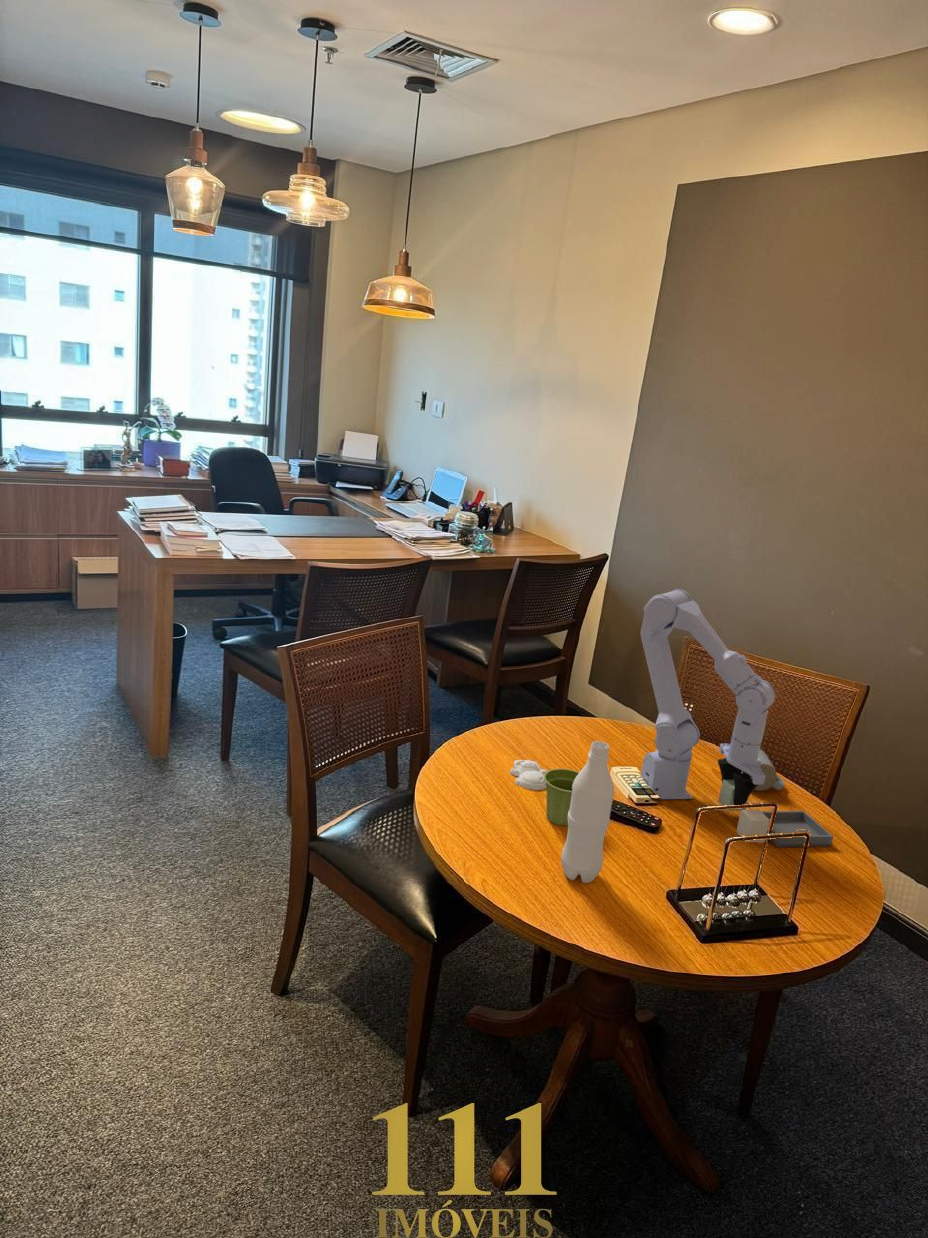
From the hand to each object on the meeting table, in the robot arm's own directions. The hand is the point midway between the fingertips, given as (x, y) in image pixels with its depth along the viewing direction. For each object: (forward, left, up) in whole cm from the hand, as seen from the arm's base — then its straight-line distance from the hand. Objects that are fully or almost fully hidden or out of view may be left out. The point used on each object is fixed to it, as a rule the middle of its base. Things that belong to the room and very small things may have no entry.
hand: (733, 799), depth 171 cm
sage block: (0, 0, -2) cm, 2 cm away
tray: (+10, -7, -4) cm, 13 cm away
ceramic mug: (+15, +14, -4) cm, 21 cm away
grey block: (0, -8, -4) cm, 9 cm away
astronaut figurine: (-38, +18, -5) cm, 42 cm away
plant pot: (-37, 0, -4) cm, 37 cm away
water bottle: (-40, -19, -4) cm, 44 cm away
